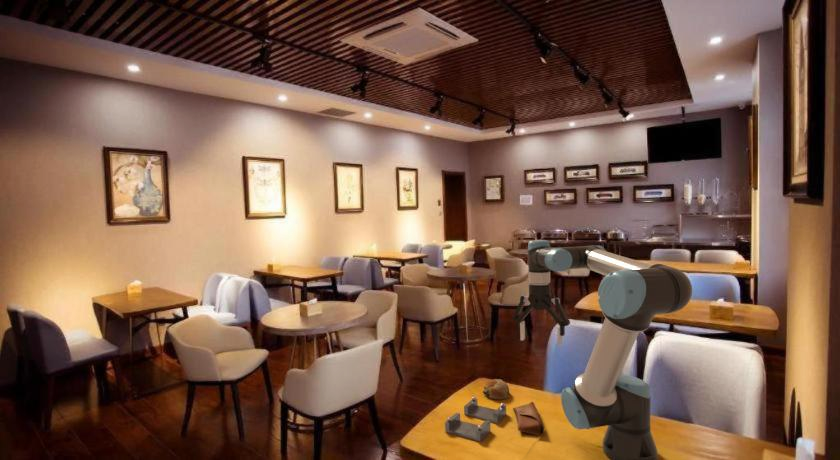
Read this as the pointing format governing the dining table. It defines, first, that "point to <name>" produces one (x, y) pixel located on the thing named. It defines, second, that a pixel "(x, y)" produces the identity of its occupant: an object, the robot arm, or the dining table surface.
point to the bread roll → (496, 389)
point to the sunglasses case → (528, 419)
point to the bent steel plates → (472, 430)
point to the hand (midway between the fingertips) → (540, 342)
